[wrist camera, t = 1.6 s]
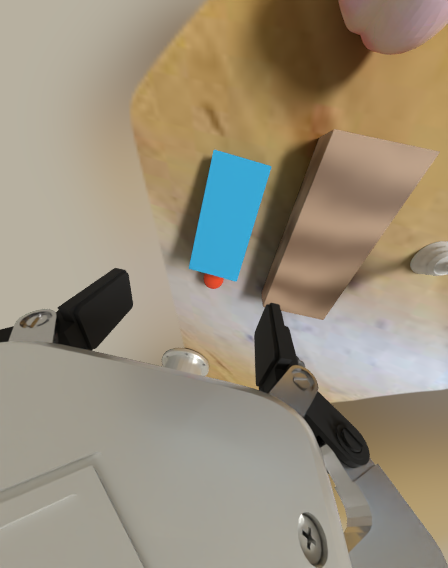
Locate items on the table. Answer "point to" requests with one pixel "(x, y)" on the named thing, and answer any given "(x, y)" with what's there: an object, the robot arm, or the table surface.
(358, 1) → the decorative fruit
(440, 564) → the robot arm
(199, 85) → the table surface
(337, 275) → the walnut riser block
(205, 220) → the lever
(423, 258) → the chalice
